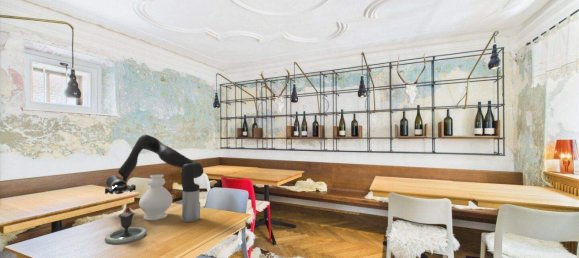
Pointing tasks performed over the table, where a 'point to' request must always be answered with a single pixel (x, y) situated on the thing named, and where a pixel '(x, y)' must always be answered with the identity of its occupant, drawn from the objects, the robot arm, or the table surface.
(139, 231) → the tray
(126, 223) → the sundae
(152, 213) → the decorative vase
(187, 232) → the table surface
